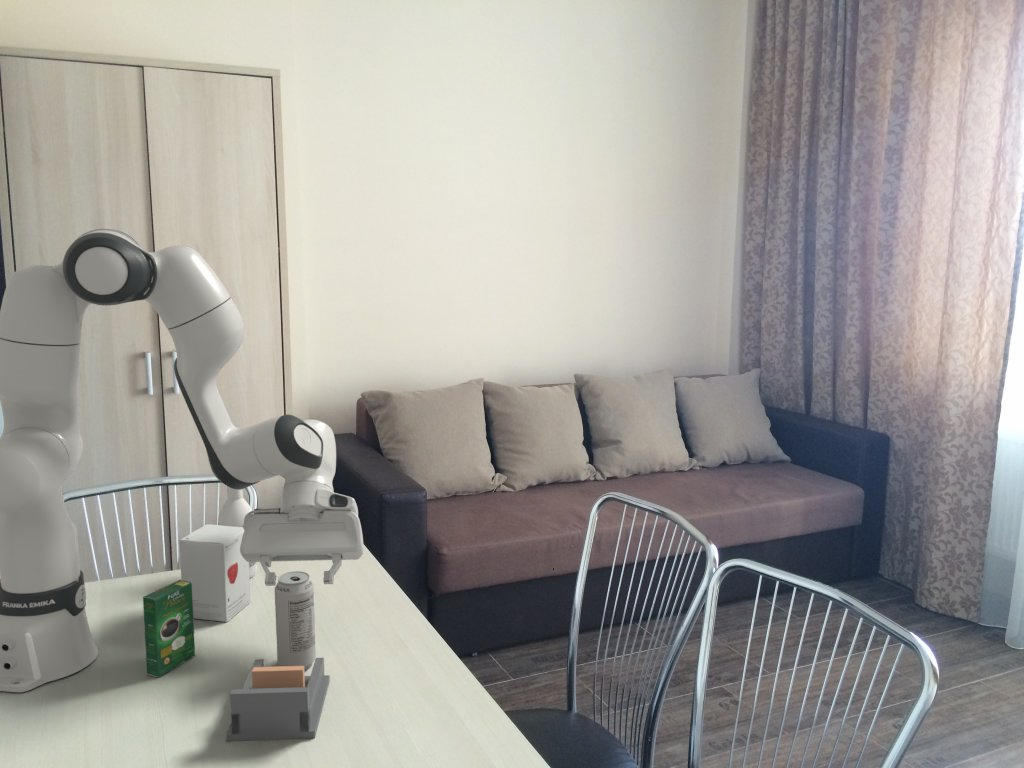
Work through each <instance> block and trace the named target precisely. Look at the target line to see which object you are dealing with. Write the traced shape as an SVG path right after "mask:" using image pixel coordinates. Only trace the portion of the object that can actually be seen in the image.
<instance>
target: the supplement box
mask: <svg viewBox="0 0 1024 768" xmlns="http://www.w3.org/2000/svg"><path fill="white" fill-rule="evenodd" d="M243 533H244V529H243V527H232V526H221V525H218V524H209V523H207V524H204V525H203V526H201V527H199V528H198V529H196V530H193V531H192V532H190V533H189V534H188V535H186V536H185V537H183V538H180V539H179V557H180V558H179V560H180V576H181V577H180V578H181V580H183V581H187V582H191V583H192V600H193V619H197V620H206V621H214V622H222V623H227V622H229V621H231V619H232V618H234V617H235V616H236V615H237V614H239V612H241V611H242V610H243V609H245V607H247V605H249V604H250V603H251V583H250V582H251V581H250V579H251V578H250V577H249V562H247V561H246V560H245V559H244V558H243V557H242V555H241V553H240V545H241V541H242V537H243Z"/></svg>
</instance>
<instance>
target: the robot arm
mask: <svg viewBox="0 0 1024 768" xmlns="http://www.w3.org/2000/svg"><path fill="white" fill-rule="evenodd" d="M3 293H4V294H3V297H2V302H1V306H0V406H1V411H2V412H1V413H2V417H3V428H2V429H3V431H2V433H1V436H0V692H7V693H8V692H10V693H24V692H25V693H26V692H28V691H30V690H33V689H35V688H38V687H40V686H41V685H44V684H46V683H49V682H52V681H57V680H60V679H62V678H66V677H68V676H70V675H74V674H76V673H77V672H79V671H82V670H83V669H85V668H87V667H88V666H89V665H90V664H92V663H93V662H94V661H95V660H96V658H97V657H98V655H99V648H98V646H97V644H96V641H95V639H94V637H93V634H92V632H91V628H90V623H89V621H88V617H87V616H88V615H87V611H86V605H87V603H86V601H87V591H86V586H85V584H86V583H85V578H84V576H85V575H84V572H83V571H82V570H81V565H80V552H79V543H78V541H79V540H78V530H77V526H76V524H75V523H74V522H73V521H72V520H71V518H70V514H69V512H68V510H67V509H68V508H67V507H66V502H65V500H64V495H63V494H64V492H63V487H64V482H65V481H66V479H68V478H69V476H71V475H72V474H73V473H74V472H75V470H76V469H77V467H78V466H79V463H80V460H81V458H82V454H83V451H84V450H83V449H84V442H83V438H82V435H81V427H80V425H81V423H80V414H79V407H78V406H79V404H78V379H79V378H78V377H79V365H80V364H79V363H80V349H81V338H82V325H83V319H84V314H85V312H86V310H87V309H88V307H89V306H90V305H96V306H97V305H98V306H117V305H122V304H126V303H127V304H128V303H131V302H137V301H144V300H145V301H146V302H147V303H148V304H149V305H151V307H152V308H153V309H154V310H155V311H156V313H157V314H158V316H159V318H160V319H161V321H162V323H163V325H164V326H165V328H166V329H167V331H168V333H169V334H170V336H171V339H172V341H173V343H174V347H175V352H176V353H175V354H176V358H175V360H174V362H173V369H174V371H173V372H174V376H175V378H176V382H177V384H178V387H179V390H180V392H181V394H182V397H183V399H184V401H185V404H186V407H187V408H188V411H189V413H190V415H191V418H192V419H193V422H194V424H195V426H196V428H197V430H198V433H199V435H200V438H201V440H202V442H203V444H204V447H205V449H206V454H207V459H208V462H209V466H210V469H211V471H212V474H213V475H214V476H215V478H216V479H217V480H218V481H219V482H220V483H221V484H223V485H225V486H226V487H227V486H228V487H230V488H232V489H237V490H241V489H243V490H244V489H247V488H248V487H251V486H253V485H255V484H258V483H259V482H261V481H265V480H268V479H271V478H274V477H277V476H280V477H282V478H283V479H284V484H283V485H282V486H283V487H282V491H281V493H282V494H281V499H280V500H281V501H280V507H272V508H262V507H261V508H255V509H253V510H252V511H251V512H249V513H248V514H247V515H246V516H245V518H244V524H243V529H244V533H243V537H242V541H241V545H240V553H241V555H242V557H243V558H244V559H245V560H246V561H247V562H256V563H257V562H259V563H260V565H261V567H262V569H263V571H264V574H265V575H264V576H265V578H264V584H265V586H266V587H272V586H273V587H274V586H275V587H276V585H277V578H278V577H277V574H276V572H274V571H270V569H269V568H271V567H272V562H301V561H305V562H307V561H331V562H332V565H331V567H330V568H329V570H323V576H324V577H323V579H322V580H323V584H324V585H334V581H335V580H334V579H335V575H336V574H337V572H338V571H339V570H340V568H341V567H342V565H343V564H342V563H343V561H347V560H348V561H350V560H351V561H352V560H359V559H361V557H362V556H363V555H364V536H363V530H362V525H361V521H360V518H359V509H358V505H357V503H356V500H355V498H353V497H351V496H349V495H345V494H340V493H337V492H334V486H333V480H334V477H335V474H336V468H337V445H336V444H337V443H336V438H335V434H334V431H333V429H332V428H331V426H329V425H328V424H327V423H325V422H323V421H322V420H317V419H311V418H310V419H308V418H307V419H304V420H303V419H301V418H299V417H297V416H295V415H293V414H283V415H278V416H276V417H273V418H270V419H266V420H263V421H261V422H259V423H256V424H253V425H250V426H248V427H247V426H246V427H244V428H239V427H238V426H237V427H236V426H235V425H234V424H233V422H232V419H231V417H230V415H229V413H228V411H227V408H226V406H225V403H224V401H223V399H222V396H221V394H220V391H219V390H218V383H217V382H218V375H219V373H220V372H221V370H222V369H223V368H224V366H226V365H227V364H228V362H230V360H231V359H232V358H233V357H235V355H236V353H237V352H238V351H239V349H240V347H241V345H242V343H243V339H244V337H245V323H244V320H243V317H242V315H241V312H240V311H239V308H238V307H237V305H236V303H235V302H234V300H233V299H232V297H231V295H230V293H229V291H228V290H227V288H226V287H225V285H224V283H222V281H221V279H220V278H219V276H218V275H217V273H216V272H215V271H214V270H213V268H212V267H211V266H210V265H209V263H208V261H206V259H205V258H204V257H203V256H202V255H201V254H200V253H199V252H198V251H197V250H196V249H195V248H192V247H191V246H186V245H171V246H167V247H165V248H161V249H160V250H158V251H147V250H144V249H143V248H142V247H141V246H140V244H139V243H138V242H137V241H136V240H135V238H133V237H132V236H130V235H129V234H127V233H125V232H123V231H120V230H117V229H111V228H97V229H92V230H89V231H86V232H84V233H82V234H81V235H79V236H78V237H77V238H76V239H75V240H74V241H73V242H72V243H71V244H70V246H69V247H68V248H67V250H66V252H65V254H64V257H63V260H62V262H60V263H59V264H58V265H41V264H37V265H29V266H25V267H21V268H19V269H17V270H15V271H14V272H13V273H12V274H11V275H10V277H9V278H8V280H7V284H6V287H5V290H4V292H3ZM252 513H253V514H252Z"/></svg>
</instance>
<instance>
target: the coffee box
mask: <svg viewBox="0 0 1024 768" xmlns="http://www.w3.org/2000/svg"><path fill="white" fill-rule="evenodd" d="M142 603H143V605H142V607H143V608H142V609H143V620H144V621H143V623H144V641H145V645H144V646H145V657H146V659H145V660H146V674H147V675H148V676H151V677H154V678H161V676H163V675H164V674H165V675H166V674H167V673H169V672H171V670H173V669H175V668H177V667H179V666H180V665H182V664H183V663H185V662H188V661H189V660H190V659H192V658H194V657H195V656H196V646H195V644H196V642H195V625H194V623H195V622H194V618H193V600H192V583H191V582H187V581H183V580H180V579H178V580H177V581H175V582H172V583H170V584H168V585H165V586H163V587H161V588H159V589H158V590H155V591H153V592H151V593H149V594H146V595H143V596H142Z"/></svg>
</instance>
